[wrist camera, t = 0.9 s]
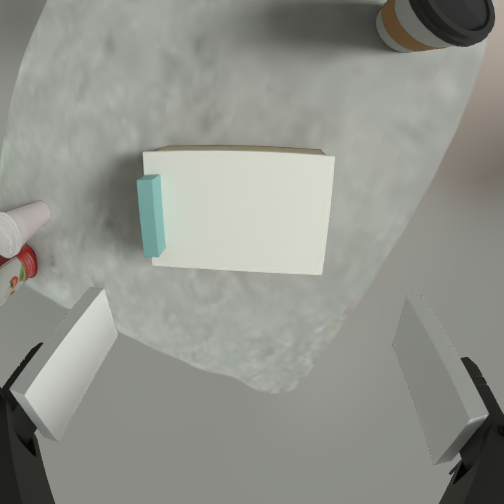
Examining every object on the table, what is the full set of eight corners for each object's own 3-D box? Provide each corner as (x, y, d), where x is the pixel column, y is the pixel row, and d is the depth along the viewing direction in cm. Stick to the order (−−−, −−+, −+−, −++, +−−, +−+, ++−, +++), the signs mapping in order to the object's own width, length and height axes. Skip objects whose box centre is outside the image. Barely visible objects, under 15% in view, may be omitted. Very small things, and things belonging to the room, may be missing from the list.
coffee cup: (405, 74, 30) (474, 63, 16) (352, 26, 28) (396, -16, 15) (440, 35, 27) (511, 14, 13) (390, -12, 25) (443, -58, 11)
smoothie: (29, 187, 39) (-35, 219, 26) (58, 199, 40) (-5, 237, 27) (26, 223, 42) (-31, 262, 29) (55, 237, 42) (-2, 281, 30)
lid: (145, 151, 30) (133, 156, 27) (333, 155, 29) (339, 160, 26) (155, 262, 35) (145, 276, 33) (320, 271, 35) (324, 286, 32)
